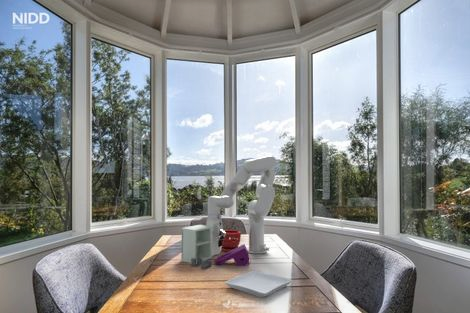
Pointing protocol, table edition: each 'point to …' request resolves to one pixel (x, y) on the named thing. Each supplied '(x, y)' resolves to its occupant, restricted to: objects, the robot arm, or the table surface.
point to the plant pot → (231, 240)
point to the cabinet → (196, 243)
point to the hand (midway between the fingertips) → (213, 245)
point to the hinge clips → (201, 263)
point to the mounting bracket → (235, 256)
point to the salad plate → (258, 283)
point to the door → (215, 246)
